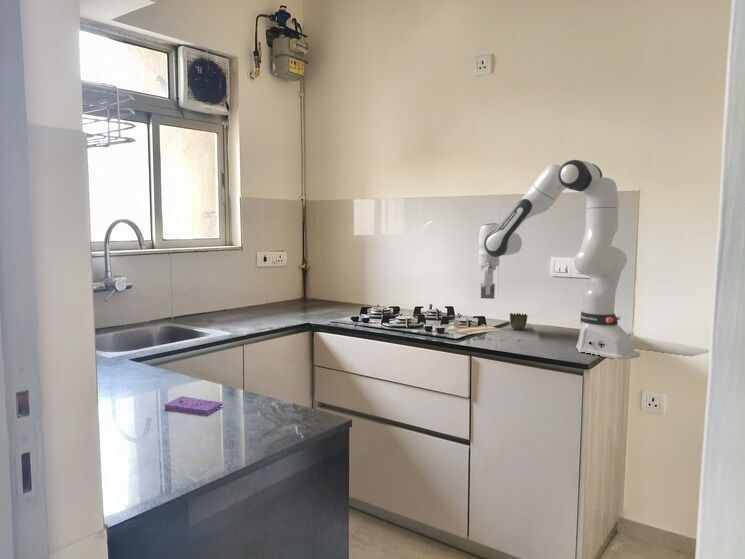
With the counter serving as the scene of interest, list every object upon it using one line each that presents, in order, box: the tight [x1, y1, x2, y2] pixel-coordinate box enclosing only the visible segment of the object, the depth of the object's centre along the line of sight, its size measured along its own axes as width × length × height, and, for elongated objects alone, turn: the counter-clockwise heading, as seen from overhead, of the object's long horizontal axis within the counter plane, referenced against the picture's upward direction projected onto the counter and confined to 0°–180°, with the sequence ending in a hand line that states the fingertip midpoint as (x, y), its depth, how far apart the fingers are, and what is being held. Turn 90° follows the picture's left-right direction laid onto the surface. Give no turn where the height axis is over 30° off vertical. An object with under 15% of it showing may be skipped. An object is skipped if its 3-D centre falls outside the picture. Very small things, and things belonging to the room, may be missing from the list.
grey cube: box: [480, 282, 496, 300], centre depth 244 cm, size 6×6×6 cm
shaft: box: [453, 319, 461, 328], centre depth 248 cm, size 2×2×3 cm
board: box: [436, 324, 503, 335], centre depth 247 cm, size 20×20×2 cm
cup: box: [509, 312, 528, 331], centre depth 245 cm, size 8×7×8 cm
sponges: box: [164, 396, 223, 415], centre depth 143 cm, size 7×13×2 cm, turn 72°
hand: (487, 293), depth 244 cm, fingers closed on grey cube, 6 cm apart
